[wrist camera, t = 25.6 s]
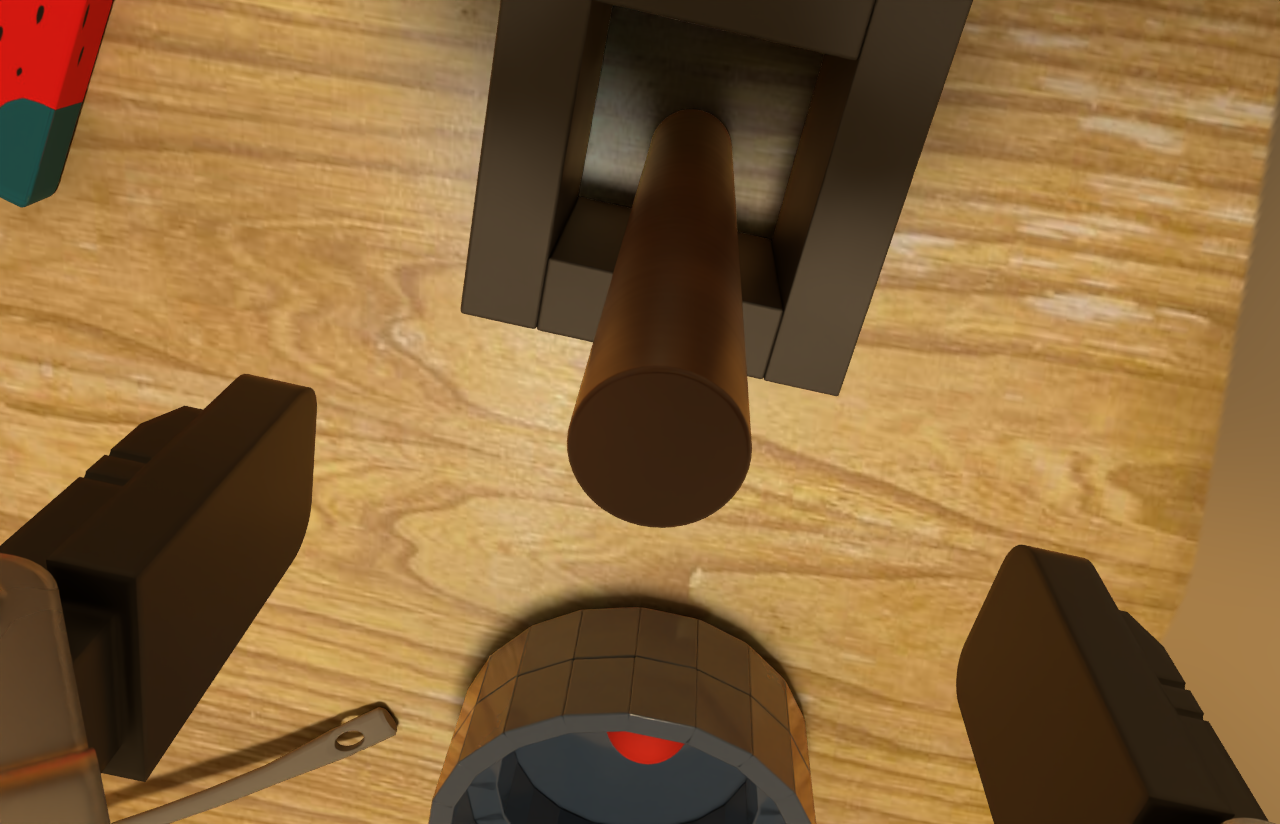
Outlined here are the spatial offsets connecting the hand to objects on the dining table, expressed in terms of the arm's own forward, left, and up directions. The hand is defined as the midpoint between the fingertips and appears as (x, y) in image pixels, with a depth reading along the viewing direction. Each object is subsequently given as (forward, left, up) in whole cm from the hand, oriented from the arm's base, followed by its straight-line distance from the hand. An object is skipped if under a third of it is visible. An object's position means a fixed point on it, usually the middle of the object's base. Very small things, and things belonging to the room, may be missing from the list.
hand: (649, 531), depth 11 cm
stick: (0, 0, -20) cm, 20 cm away
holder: (0, -1, -20) cm, 20 cm away
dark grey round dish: (-3, +23, -20) cm, 30 cm away
